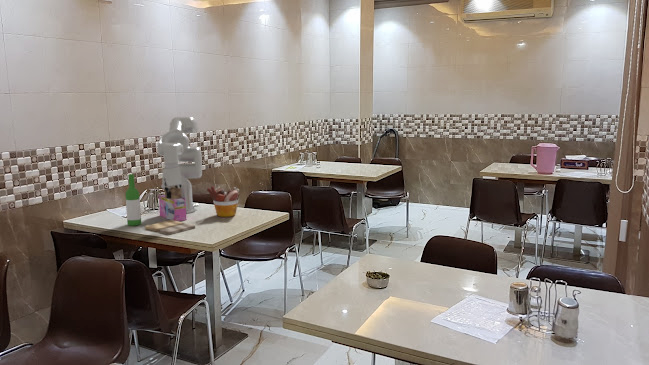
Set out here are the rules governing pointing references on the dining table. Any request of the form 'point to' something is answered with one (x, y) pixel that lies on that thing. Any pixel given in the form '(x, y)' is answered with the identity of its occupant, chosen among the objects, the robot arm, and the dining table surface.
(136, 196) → the wine bottle
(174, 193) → the walnut block
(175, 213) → the gum box
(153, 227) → the beige segmented panel
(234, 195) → the bucket of meat
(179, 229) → the board
